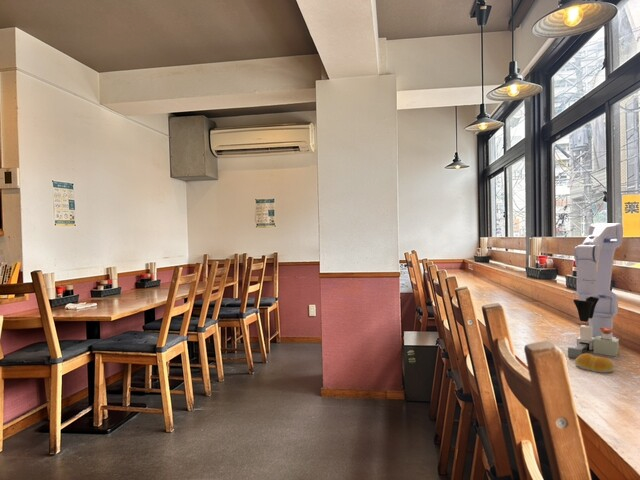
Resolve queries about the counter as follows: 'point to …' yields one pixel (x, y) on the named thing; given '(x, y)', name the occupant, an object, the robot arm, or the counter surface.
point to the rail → (578, 350)
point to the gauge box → (606, 346)
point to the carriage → (586, 336)
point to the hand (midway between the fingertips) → (586, 319)
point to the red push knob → (606, 333)
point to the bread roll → (594, 363)
